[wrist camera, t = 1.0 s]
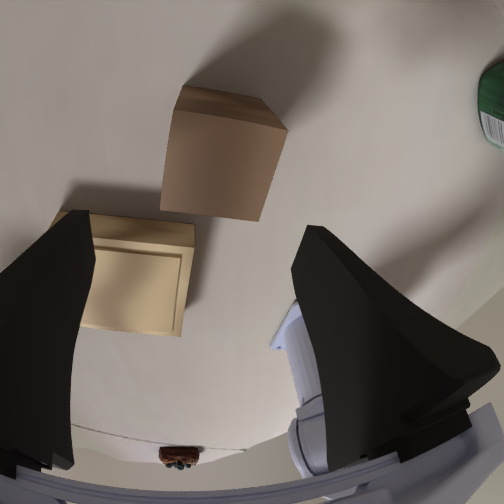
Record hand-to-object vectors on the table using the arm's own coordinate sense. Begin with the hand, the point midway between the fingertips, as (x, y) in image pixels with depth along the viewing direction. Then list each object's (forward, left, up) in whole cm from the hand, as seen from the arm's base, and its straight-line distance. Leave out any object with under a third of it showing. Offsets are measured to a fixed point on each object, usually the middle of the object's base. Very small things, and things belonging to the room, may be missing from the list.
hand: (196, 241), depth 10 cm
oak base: (+4, +11, -10) cm, 15 cm away
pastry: (-4, +79, -10) cm, 80 cm away
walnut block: (-1, -1, -10) cm, 10 cm away
